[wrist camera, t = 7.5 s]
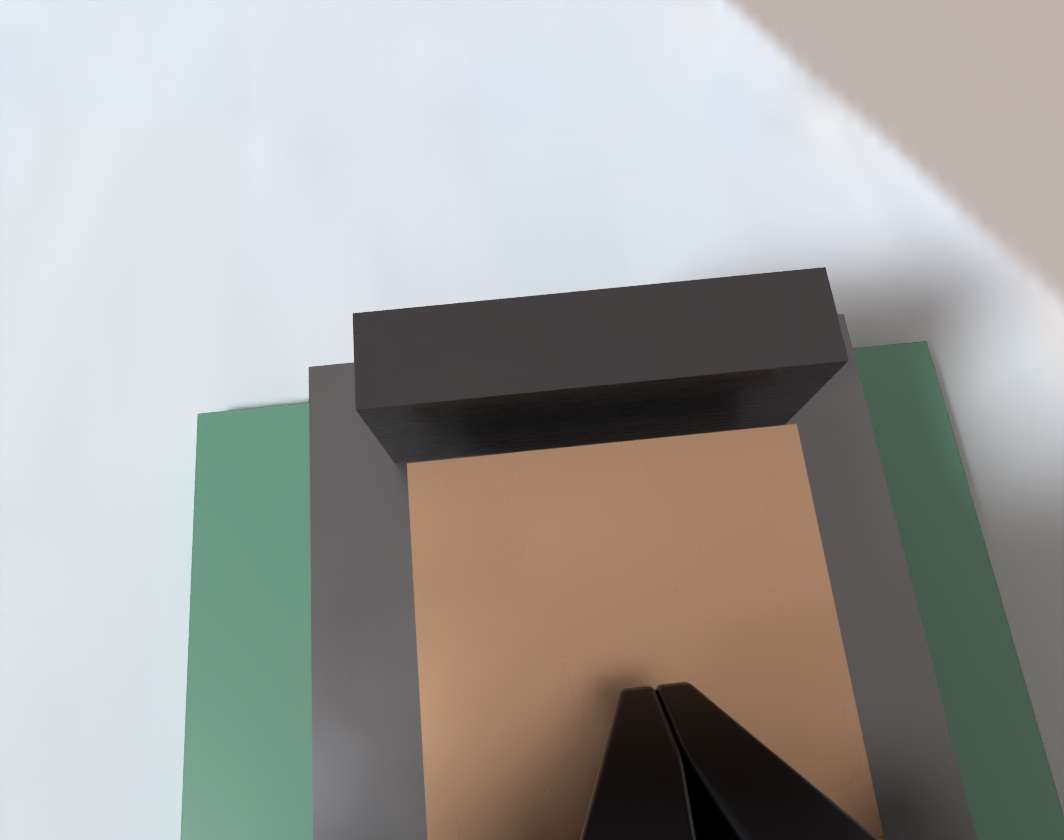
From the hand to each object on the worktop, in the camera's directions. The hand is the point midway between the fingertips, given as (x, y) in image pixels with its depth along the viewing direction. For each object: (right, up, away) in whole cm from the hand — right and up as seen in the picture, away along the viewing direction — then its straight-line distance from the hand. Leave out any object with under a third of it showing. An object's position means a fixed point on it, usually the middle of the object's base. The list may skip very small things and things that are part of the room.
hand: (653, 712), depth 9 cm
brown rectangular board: (0, -2, +2) cm, 3 cm away
